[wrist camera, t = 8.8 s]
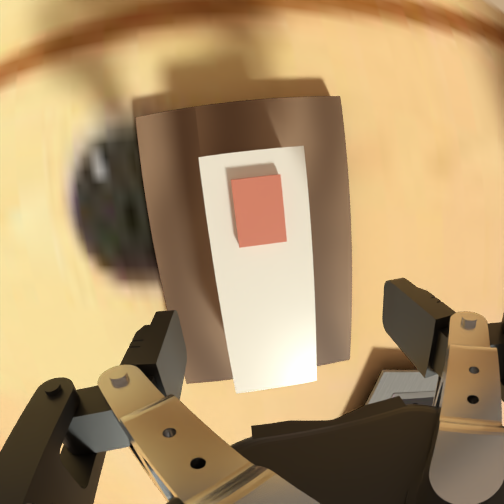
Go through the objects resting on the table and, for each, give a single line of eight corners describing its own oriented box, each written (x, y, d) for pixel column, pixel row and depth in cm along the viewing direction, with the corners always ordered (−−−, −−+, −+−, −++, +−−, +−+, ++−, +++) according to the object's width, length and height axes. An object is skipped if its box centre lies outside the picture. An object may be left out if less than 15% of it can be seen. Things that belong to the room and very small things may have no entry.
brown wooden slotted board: (332, 100, 19) (340, 96, 17) (343, 348, 24) (349, 359, 22) (141, 120, 18) (135, 117, 16) (188, 371, 23) (186, 383, 22)
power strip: (278, 150, 19) (306, 145, 12) (293, 324, 23) (318, 385, 16) (206, 158, 19) (197, 157, 12) (232, 333, 22) (236, 399, 16)
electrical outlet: (374, 357, 25) (385, 373, 23) (456, 359, 26) (468, 371, 24) (324, 455, 28) (329, 472, 26) (402, 448, 30) (410, 462, 27)
